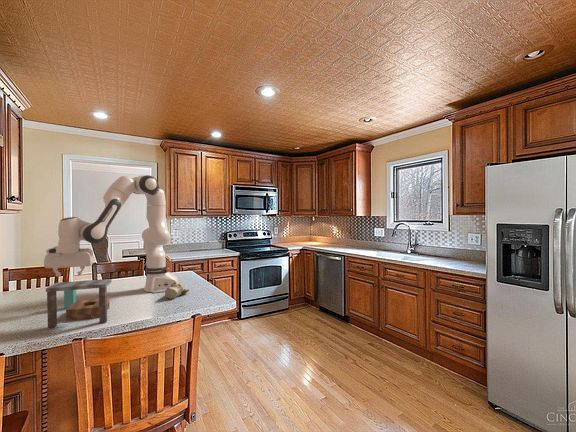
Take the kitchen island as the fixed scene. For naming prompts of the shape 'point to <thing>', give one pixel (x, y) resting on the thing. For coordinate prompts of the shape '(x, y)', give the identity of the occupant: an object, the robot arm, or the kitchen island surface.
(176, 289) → the ceramic sculpture
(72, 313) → the grey miniature side table
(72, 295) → the peg
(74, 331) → the kitchen island surface
